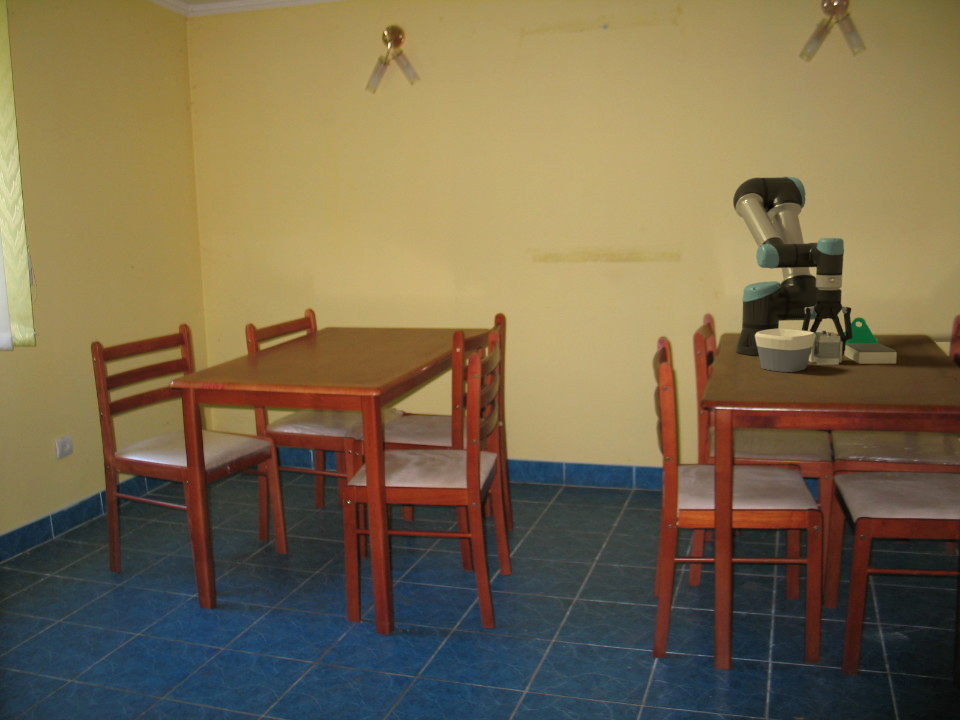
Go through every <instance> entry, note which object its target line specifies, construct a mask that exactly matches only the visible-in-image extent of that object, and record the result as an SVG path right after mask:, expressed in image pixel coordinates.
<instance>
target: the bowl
mask: <svg viewBox="0 0 960 720" xmlns="http://www.w3.org/2000/svg"><path fill="white" fill-rule="evenodd" d="M809 331H810V330H808V331H802V329H790V328H779V329H770V330H763V331H759V332H757V333H756V334H755V339H756V344H757V348H758V353H759V356H758V357H759V362H760V367H761V369H763V370H765V369H766V371H770V370H771V371H772V372H777V371H778V373H787V372H790V373H795V372H801V370H802V371H803V370H806V369H807V366H808V362H809V356H810V353H811V349H812V346H813V343H814V339H815V333H814V332H809ZM771 371H770V372H771Z"/></svg>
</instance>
